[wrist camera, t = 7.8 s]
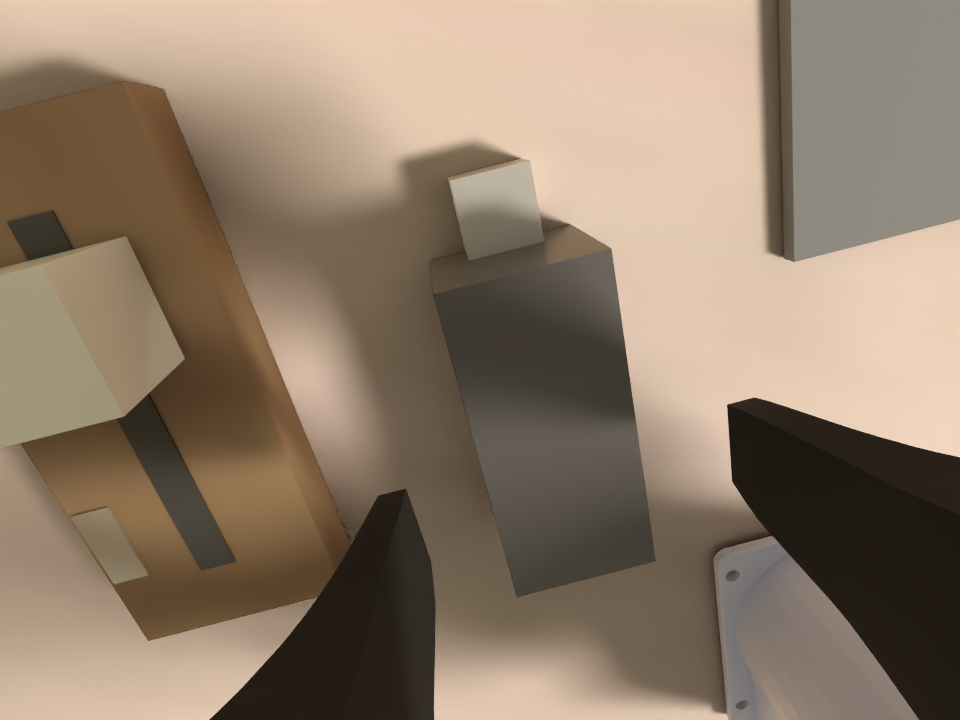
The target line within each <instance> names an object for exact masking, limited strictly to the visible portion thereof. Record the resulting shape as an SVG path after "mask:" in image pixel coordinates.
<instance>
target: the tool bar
mask: <svg viewBox="0 0 960 720" xmlns="http://www.w3.org/2000/svg"><path fill="white" fill-rule="evenodd" d="M447 180H448V184H449V188H450V192H451V196H452V200H453V204H454V208H455V212H456V216H457V220H458V224H459V228H460V232H461V237H462V241H463V245H464V249H465V252H462V253H458V254H454V255H450V256H446V257H442V258H438V259H434V260H430V267H431V277H432V288H433V296H434V299H435V303H436V306H437V310H438V314H439V317H440V321H441V324H442V328H443V332H444V335H445V339H446V343H447V346H448V350H449V353H450V357H451V361H452V364H453V368H454V371H455V375H456V379H457V382H458V386H459V390H460V393H461V397H462V400H463V404H464V408H465V411H466V415H467V418H468V422H469V426H470V429H471V433H472V436H473V440H474V444H475V447H476V451H477V455H478V458H479V462H480V465H481V469H482V473H483V476H484V480H485V483H486V487H487V491H488V494H489V498H490V501H491V505H492V509H493V512H494V516H495V520H496V523H497V527H498V530H499V534H500V538H501V541H502V545H503V548H504V552H505V556H506V559H507V563H508V567H509V570H510V574H511V577H512V581H513V585H514V588H515V592H516V595H517V597H520V596H523V595H527V594H531V593H535V592H539V591H543V590H546V589H550V588H554V587H558V586H562V585H566V584H569V583H573V582H577V581H581V580H585V579H589V578H592V577H596V576H600V575H604V574H608V573H612V572H615V571H619V570H623V569H627V568H631V567H635V566H638V565H642V564H646V563H650V562H654V561H655V554H654V547H653V540H652V533H651V526H650V519H649V512H648V505H647V498H646V490H645V483H644V476H643V469H642V462H641V455H640V448H639V441H638V434H637V427H636V420H635V413H634V406H633V398H632V391H631V384H630V377H629V370H628V363H627V356H626V349H625V342H624V335H623V328H622V321H621V314H620V307H619V299H618V292H617V285H616V278H615V271H614V264H613V257H612V250H611V248H610V247H608V246H606V245H605V244H603V243H601V242H599V241H598V240H596V239H594V238H593V237H591V236H589V235H588V234H586V233H584V232H583V231H581V230H579V229H577V228H576V227H574V226H572V225H567V226H563V227H559V228H555V229H551V230H547V231H544V232H543V229H542V224H541V219H540V213H539V208H538V203H537V197H536V192H535V187H534V181H533V176H532V171H531V165H530V160H526V159H517V160H513V161H509V162H505V163H501V164H497V165H493V166H490V167H486V168H482V169H478V170H474V171H470V172H466V173H462V174H458V175H454V176H450V177H447Z"/></svg>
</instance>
